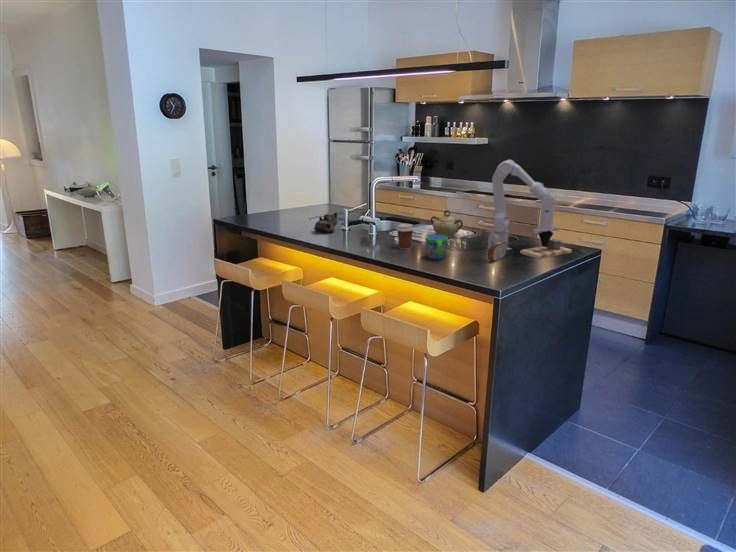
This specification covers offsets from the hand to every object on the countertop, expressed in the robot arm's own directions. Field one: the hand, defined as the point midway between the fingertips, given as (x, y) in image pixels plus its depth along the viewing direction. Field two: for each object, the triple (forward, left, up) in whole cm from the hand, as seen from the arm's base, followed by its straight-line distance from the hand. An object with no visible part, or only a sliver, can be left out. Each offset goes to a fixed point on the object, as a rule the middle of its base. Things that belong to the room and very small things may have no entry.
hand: (544, 246), depth 248 cm
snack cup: (-50, +20, -4) cm, 54 cm away
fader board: (+1, 0, -3) cm, 4 cm away
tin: (-27, +3, -4) cm, 27 cm away
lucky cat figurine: (-73, +102, -4) cm, 125 cm away
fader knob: (+6, 0, -2) cm, 6 cm away
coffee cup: (-53, +44, -4) cm, 69 cm away
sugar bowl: (-20, +54, -4) cm, 57 cm away
